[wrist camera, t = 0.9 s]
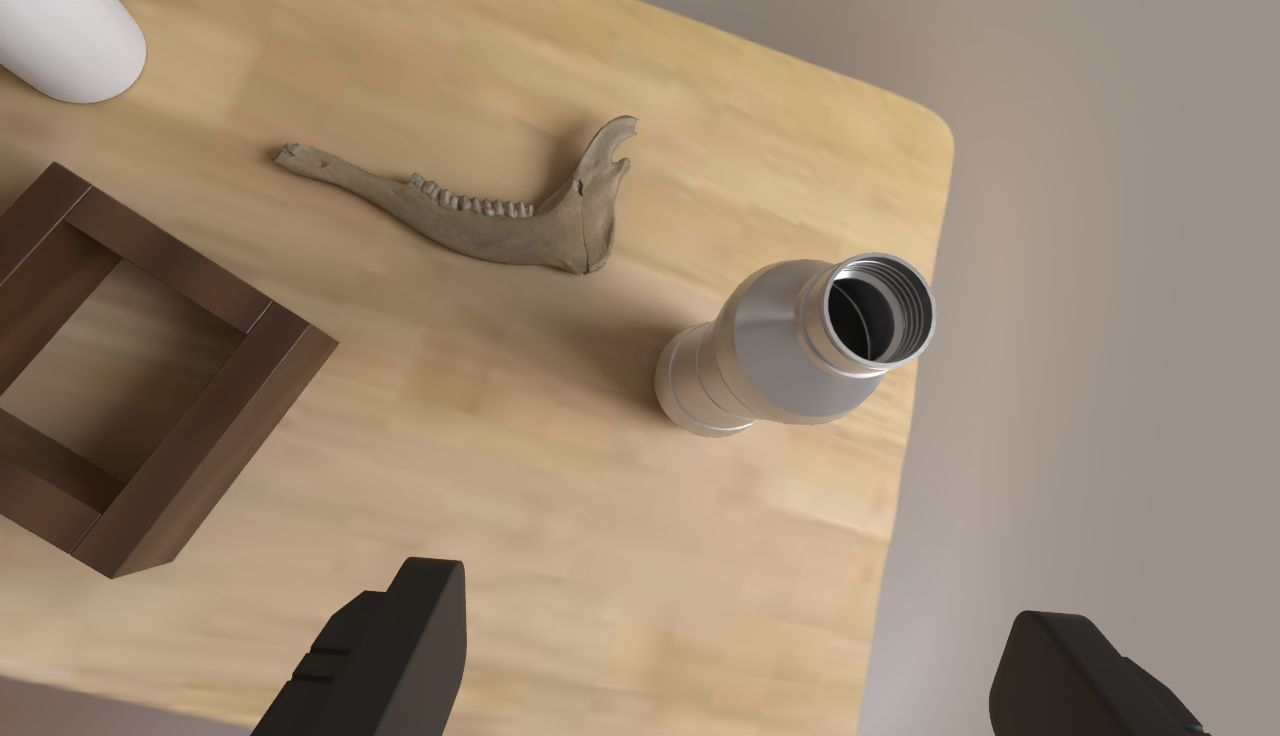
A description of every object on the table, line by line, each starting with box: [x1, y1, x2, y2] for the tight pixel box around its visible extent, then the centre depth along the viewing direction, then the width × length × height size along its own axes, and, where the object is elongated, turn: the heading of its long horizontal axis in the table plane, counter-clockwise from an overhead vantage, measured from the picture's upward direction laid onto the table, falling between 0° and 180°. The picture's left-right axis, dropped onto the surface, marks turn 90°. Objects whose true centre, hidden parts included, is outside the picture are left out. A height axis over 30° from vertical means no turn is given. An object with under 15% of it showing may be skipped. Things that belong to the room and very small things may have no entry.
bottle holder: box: [0, 162, 339, 579], centre depth 31 cm, size 14×14×5 cm
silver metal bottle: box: [654, 252, 937, 438], centre depth 29 cm, size 6×7×20 cm
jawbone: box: [272, 115, 639, 275], centre depth 37 cm, size 9×20×2 cm, turn 100°
